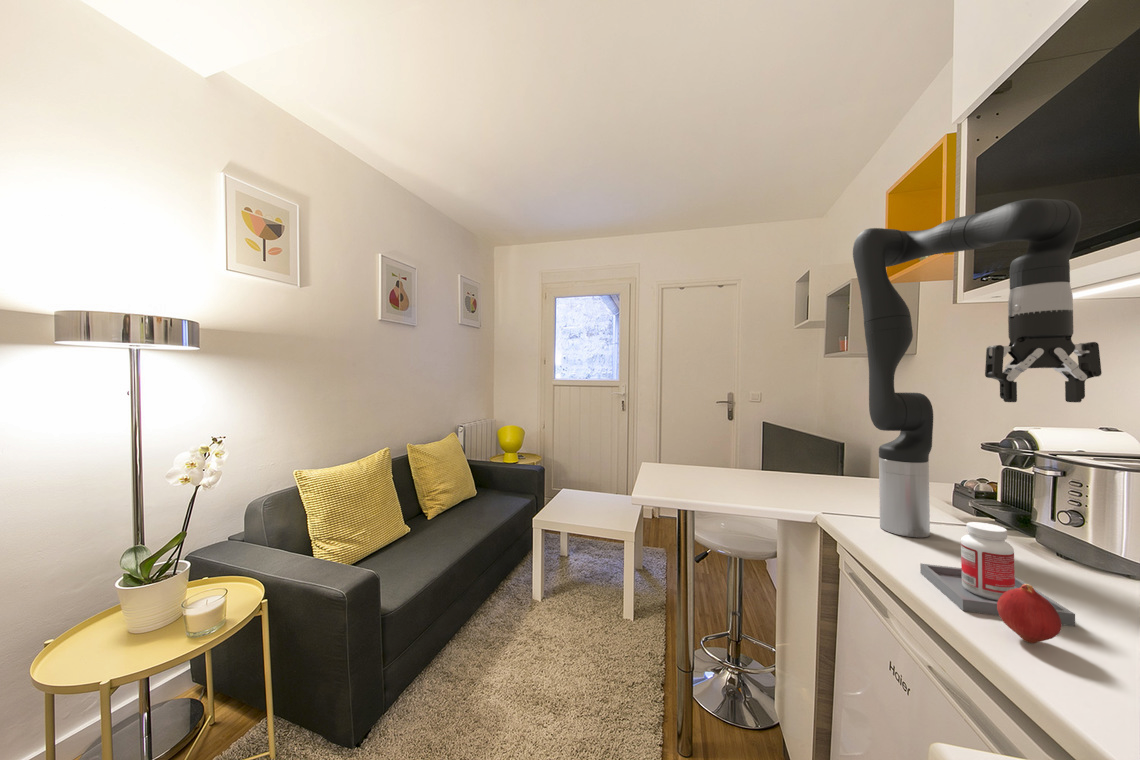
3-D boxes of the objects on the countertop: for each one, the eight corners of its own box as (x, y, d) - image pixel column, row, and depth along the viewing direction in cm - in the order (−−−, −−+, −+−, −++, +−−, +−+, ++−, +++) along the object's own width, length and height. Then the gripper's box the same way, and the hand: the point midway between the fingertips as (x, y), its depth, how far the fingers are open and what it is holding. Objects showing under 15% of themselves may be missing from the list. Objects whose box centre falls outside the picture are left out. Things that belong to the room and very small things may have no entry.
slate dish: (920, 573, 75) (920, 563, 75) (1010, 583, 70) (1010, 573, 70) (962, 610, 62) (962, 599, 62) (1075, 626, 58) (1075, 614, 58)
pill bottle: (1022, 597, 65) (1020, 529, 65) (1006, 606, 62) (1005, 535, 62) (970, 580, 71) (969, 517, 71) (954, 588, 68) (953, 523, 68)
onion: (994, 623, 59) (993, 569, 59) (1054, 639, 55) (1053, 581, 55) (1002, 643, 54) (1001, 585, 55) (1068, 662, 51) (1067, 599, 51)
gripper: (1074, 312, 73) (1076, 401, 72) (975, 317, 77) (976, 401, 77) (1114, 305, 65) (1116, 403, 65) (1002, 311, 70) (1004, 403, 70)
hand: (1041, 402), depth 71 cm, fingers open, 8 cm apart
